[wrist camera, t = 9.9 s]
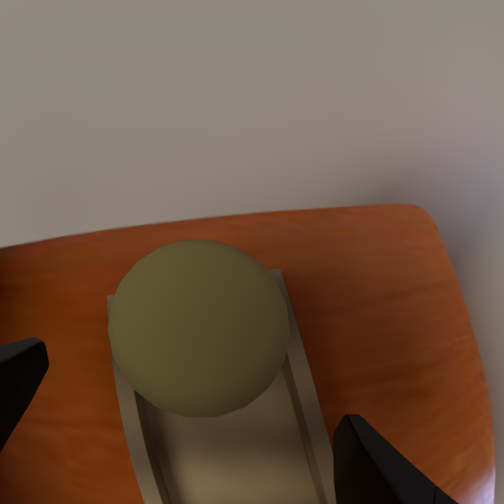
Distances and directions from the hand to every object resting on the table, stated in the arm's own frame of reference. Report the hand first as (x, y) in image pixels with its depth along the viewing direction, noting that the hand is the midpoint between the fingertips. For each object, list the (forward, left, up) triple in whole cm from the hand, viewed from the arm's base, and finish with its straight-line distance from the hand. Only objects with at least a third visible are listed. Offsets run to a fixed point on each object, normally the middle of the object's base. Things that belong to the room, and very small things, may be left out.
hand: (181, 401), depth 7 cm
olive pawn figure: (+2, -1, -10) cm, 10 cm away
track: (-3, -1, -10) cm, 11 cm away
